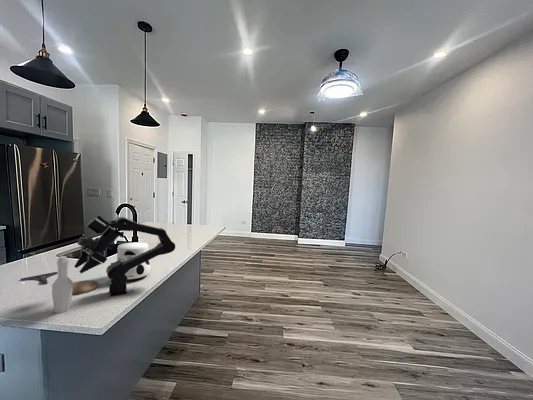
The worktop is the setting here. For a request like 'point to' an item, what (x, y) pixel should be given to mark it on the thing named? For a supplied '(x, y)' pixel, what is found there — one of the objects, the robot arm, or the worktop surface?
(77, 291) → the walnut board
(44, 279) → the bracket
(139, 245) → the milk container
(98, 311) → the worktop surface
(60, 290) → the low poly bottle
